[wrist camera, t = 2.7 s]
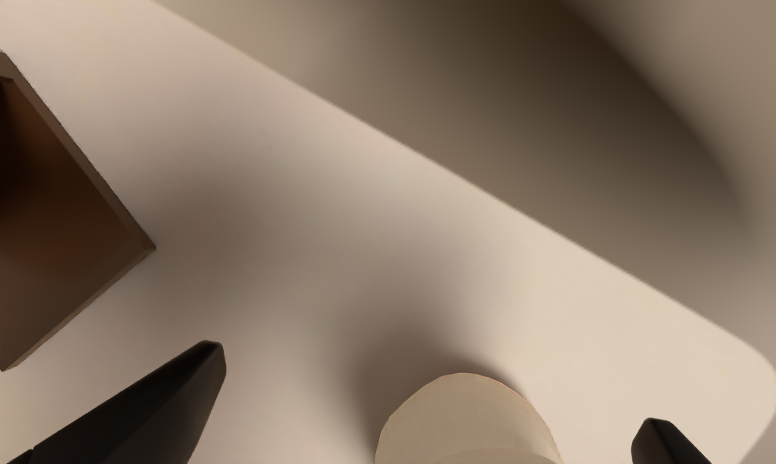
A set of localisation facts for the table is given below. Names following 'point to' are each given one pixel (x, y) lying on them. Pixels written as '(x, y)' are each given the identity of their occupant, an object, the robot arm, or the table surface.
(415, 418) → the cat figurine
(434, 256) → the table surface
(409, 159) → the table surface
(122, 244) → the stand
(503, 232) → the table surface
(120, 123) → the table surface
